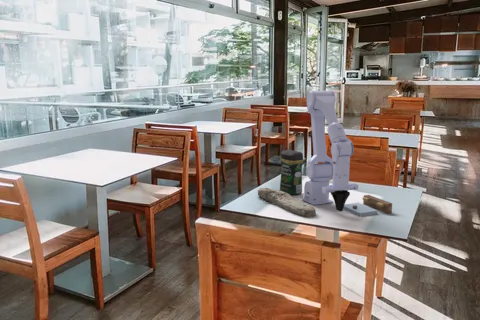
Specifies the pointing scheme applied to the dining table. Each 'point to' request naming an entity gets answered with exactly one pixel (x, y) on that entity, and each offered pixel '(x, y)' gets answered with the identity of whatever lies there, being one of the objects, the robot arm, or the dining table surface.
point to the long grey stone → (287, 201)
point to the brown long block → (377, 203)
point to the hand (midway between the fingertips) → (339, 210)
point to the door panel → (360, 209)
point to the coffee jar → (291, 172)
